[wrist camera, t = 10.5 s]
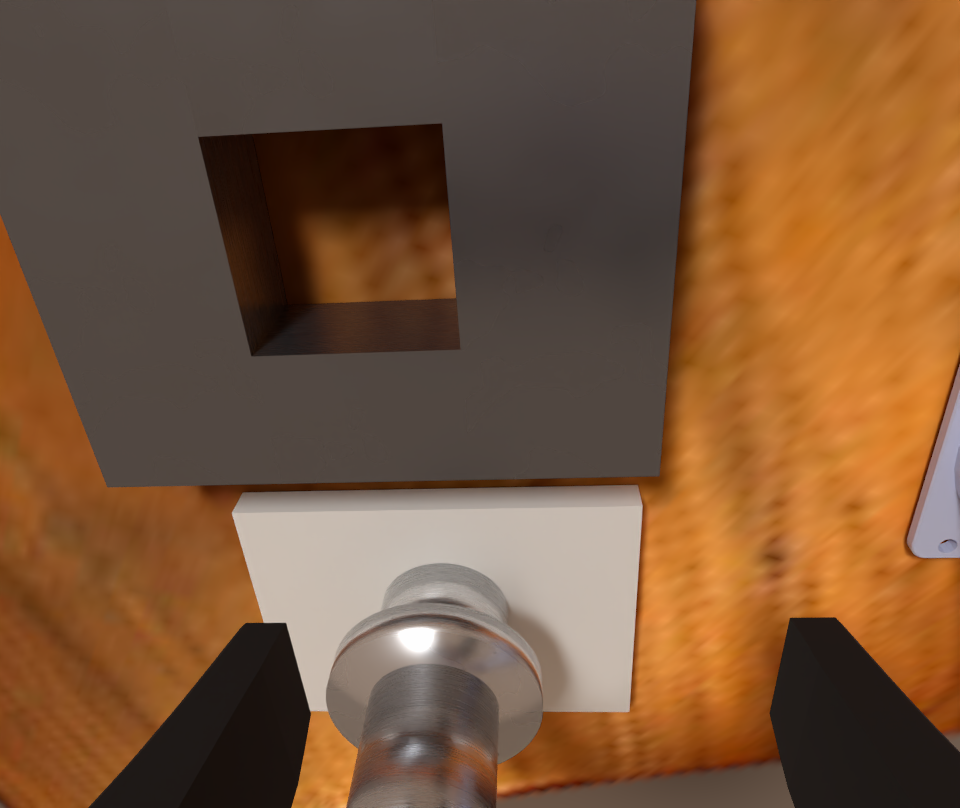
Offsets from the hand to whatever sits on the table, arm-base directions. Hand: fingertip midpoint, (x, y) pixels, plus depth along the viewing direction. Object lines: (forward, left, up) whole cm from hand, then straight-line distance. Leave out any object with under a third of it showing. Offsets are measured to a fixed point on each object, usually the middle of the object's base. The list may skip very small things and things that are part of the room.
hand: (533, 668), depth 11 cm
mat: (+3, +9, -10) cm, 14 cm away
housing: (+4, -4, -10) cm, 12 cm away
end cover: (+3, +9, -9) cm, 13 cm away
